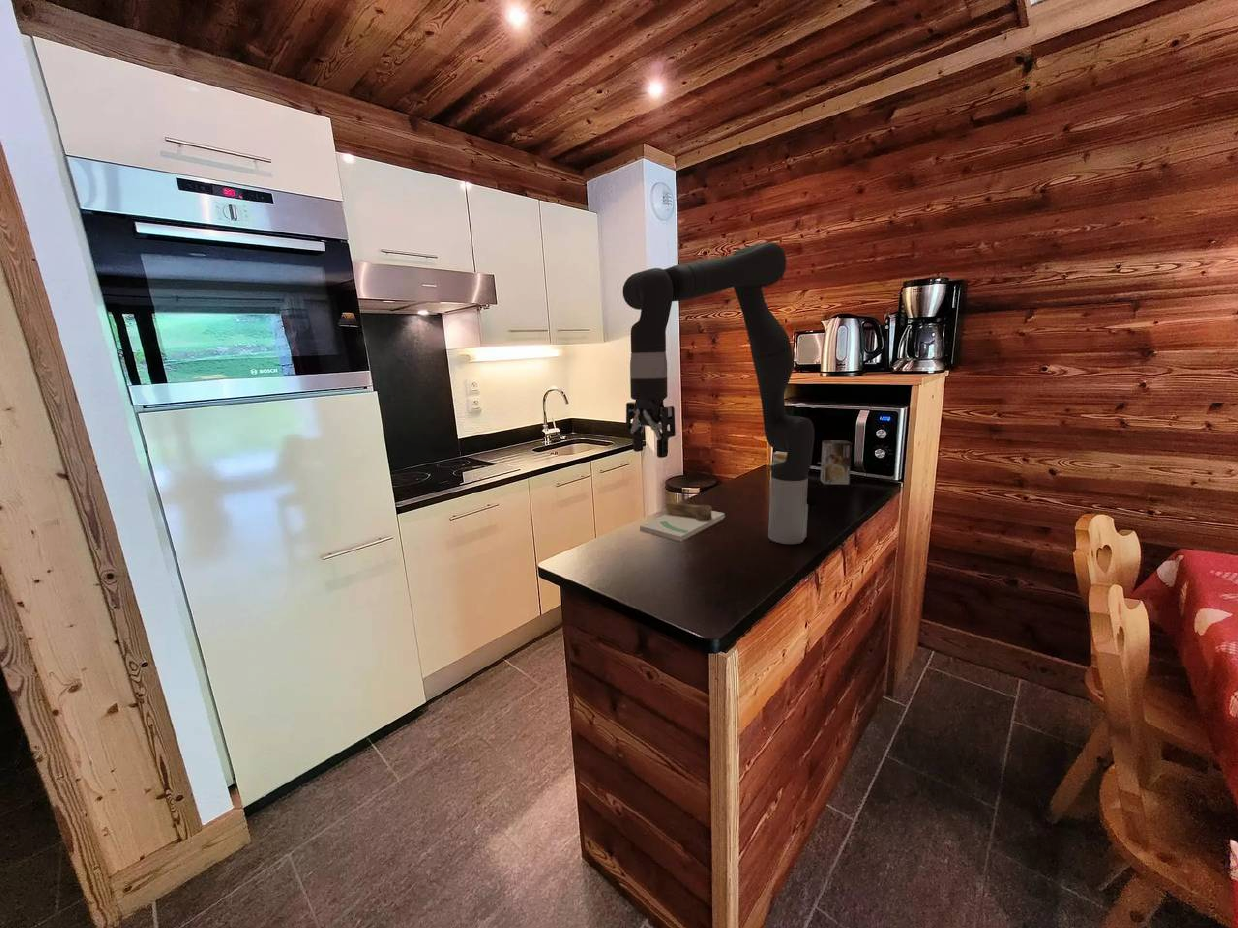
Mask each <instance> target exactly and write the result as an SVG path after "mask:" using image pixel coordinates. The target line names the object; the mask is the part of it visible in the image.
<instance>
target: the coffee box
mask: <svg viewBox="0 0 1238 928" xmlns="http://www.w3.org/2000/svg"><path fill="white" fill-rule="evenodd" d="M852 449H853V443H852V442H851V441H849V440H846V439H845V440H844V439H840V440H837V439H836V440H835V439H834V440H833V439H830V440H829V439H826V440H825V439H823V440H822V449H821V465H820V466H821V467H820V481H821V482H822V483H823V485H844V486H845V485H847V486H849V485H850V483H851V482H850V481H851V467H852V466H851V463H852V453H853V450H852Z"/></svg>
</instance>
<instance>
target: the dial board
mask: <svg viewBox="0 0 1238 928" xmlns="http://www.w3.org/2000/svg"><path fill="white" fill-rule="evenodd" d="M724 519H725V513H724V512H721V511H720V512H718V511H715V510H711V519H710V520H699V519H697V518H693V517H686V516H679V515H671V514H667V513H666V514H663V515H661V516H659V517H657V518H654V519H652V520H650V521H648V522H645V523H643V524H640V527H639V530H640V532H644V533H647V534H651V535H655V536H658V537H663V538H666V539H669V540H673V541H676V542H683V541H685V540H687V539H688V538H691V537H692V536H694V535H696V534H698V533H700V532H701V531H703V530H705V529H707V528H709V527H711V526H712V525H715V524H717V523H718V522H720V521H722V520H724Z"/></svg>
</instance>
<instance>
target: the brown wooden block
mask: <svg viewBox="0 0 1238 928" xmlns="http://www.w3.org/2000/svg"><path fill="white" fill-rule="evenodd" d="M712 509H713V508H712V506H711V505H708V504H699V505H698V504H689V503H683V502H675V501H667V502H666V514H671V515H679V516H686V517H693V518H697V519H699V520H710V519H711V511H712Z"/></svg>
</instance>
